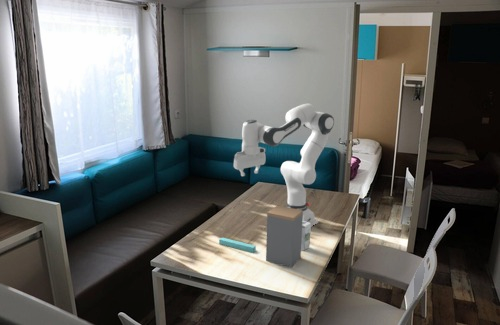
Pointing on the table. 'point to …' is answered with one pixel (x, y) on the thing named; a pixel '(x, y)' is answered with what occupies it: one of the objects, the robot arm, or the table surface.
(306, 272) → the table surface
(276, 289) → the table surface
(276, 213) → the pedestal
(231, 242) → the teal batten
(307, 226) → the syrup box
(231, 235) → the table surface
